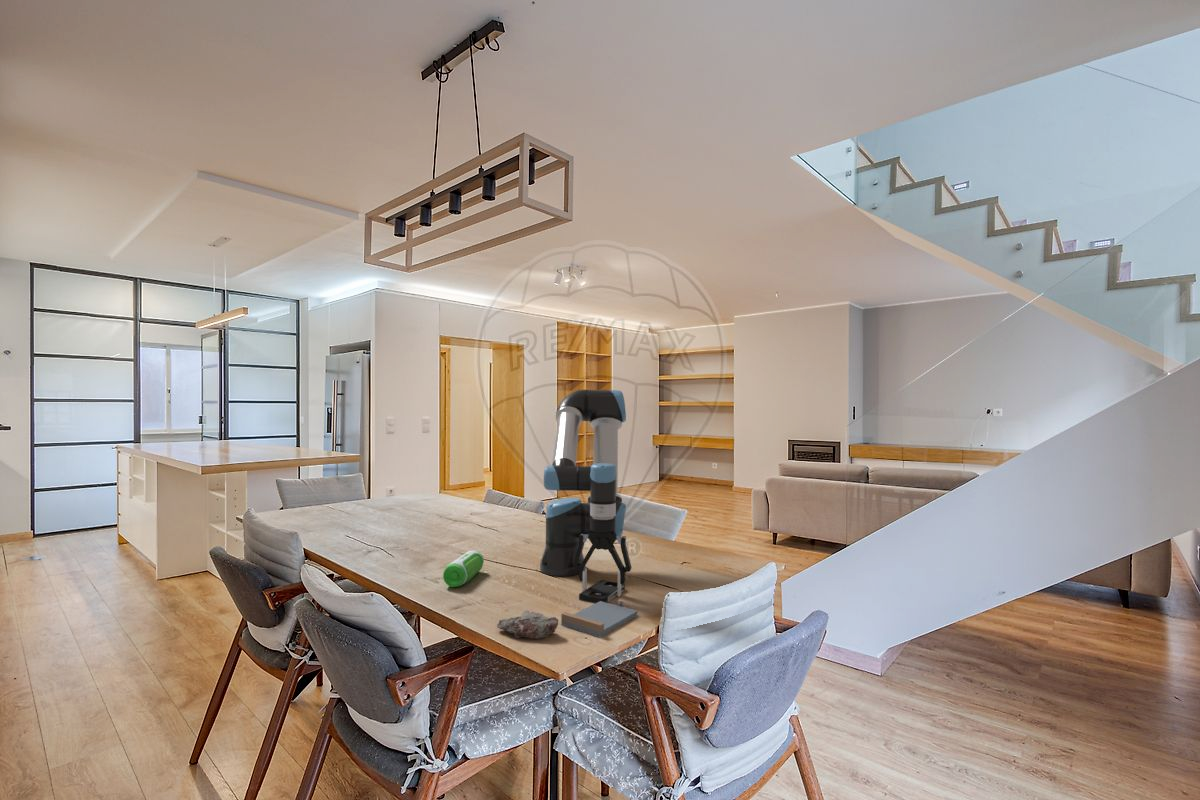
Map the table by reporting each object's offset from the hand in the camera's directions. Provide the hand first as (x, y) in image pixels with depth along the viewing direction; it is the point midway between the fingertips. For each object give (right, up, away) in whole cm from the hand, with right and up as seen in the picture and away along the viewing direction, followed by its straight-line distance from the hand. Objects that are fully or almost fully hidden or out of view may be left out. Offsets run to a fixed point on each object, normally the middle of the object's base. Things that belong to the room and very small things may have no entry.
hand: (601, 593), depth 165 cm
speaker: (-43, 0, +12) cm, 45 cm away
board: (0, 0, -19) cm, 19 cm away
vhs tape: (0, -1, 0) cm, 1 cm away
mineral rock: (-18, -1, -28) cm, 33 cm away
